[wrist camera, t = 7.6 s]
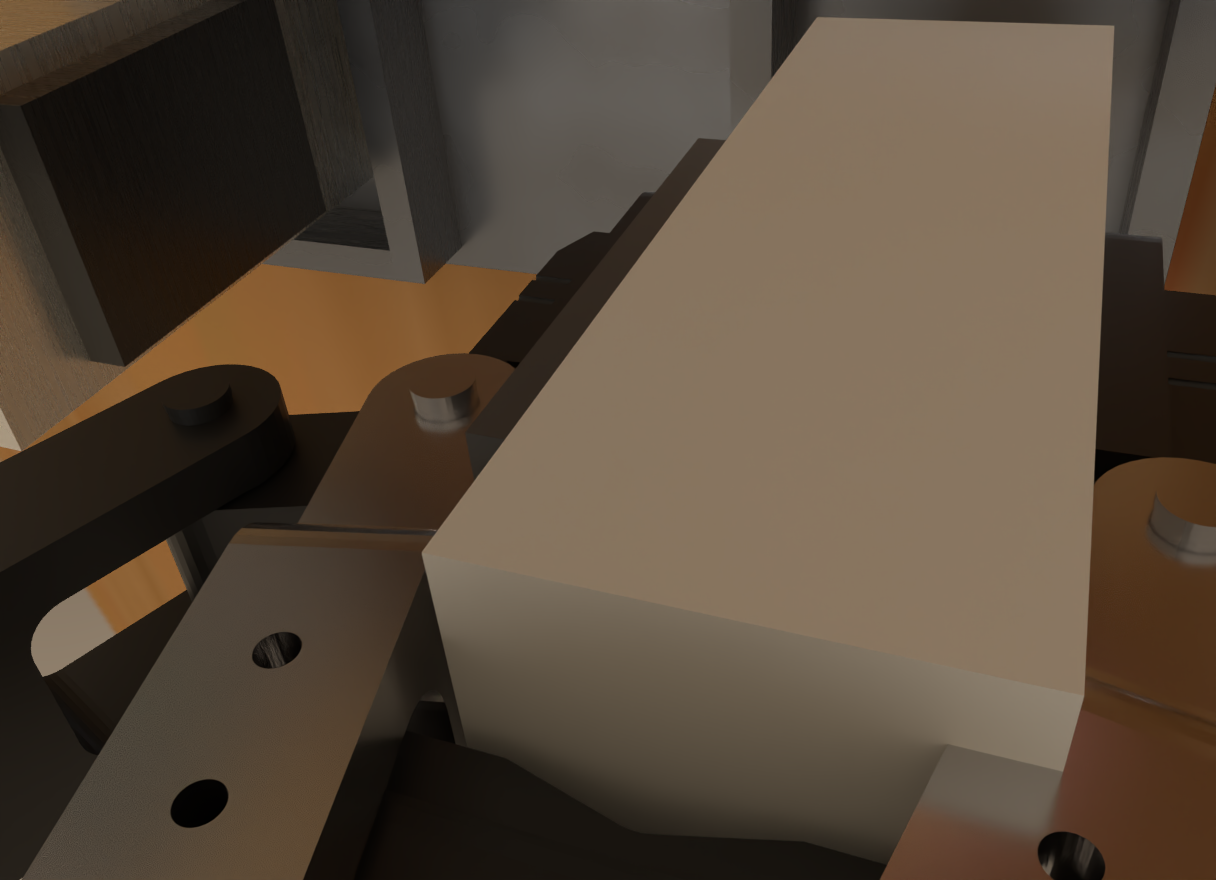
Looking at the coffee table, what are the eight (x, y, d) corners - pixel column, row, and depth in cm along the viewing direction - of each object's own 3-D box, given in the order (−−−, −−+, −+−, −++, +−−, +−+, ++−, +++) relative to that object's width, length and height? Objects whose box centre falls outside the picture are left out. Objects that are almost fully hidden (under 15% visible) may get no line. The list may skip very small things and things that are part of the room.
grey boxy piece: (245, 205, 24) (-165, 493, 17) (125, -206, 20) (-526, -70, 12) (1142, 298, 18) (1146, 815, 11) (1280, -262, 14) (1465, -61, 6)
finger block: (759, 358, 15) (456, 984, 8) (763, 15, 12) (316, 529, 6) (1041, 396, 14) (954, 1161, 7) (1114, 25, 11) (1082, 697, 4)
